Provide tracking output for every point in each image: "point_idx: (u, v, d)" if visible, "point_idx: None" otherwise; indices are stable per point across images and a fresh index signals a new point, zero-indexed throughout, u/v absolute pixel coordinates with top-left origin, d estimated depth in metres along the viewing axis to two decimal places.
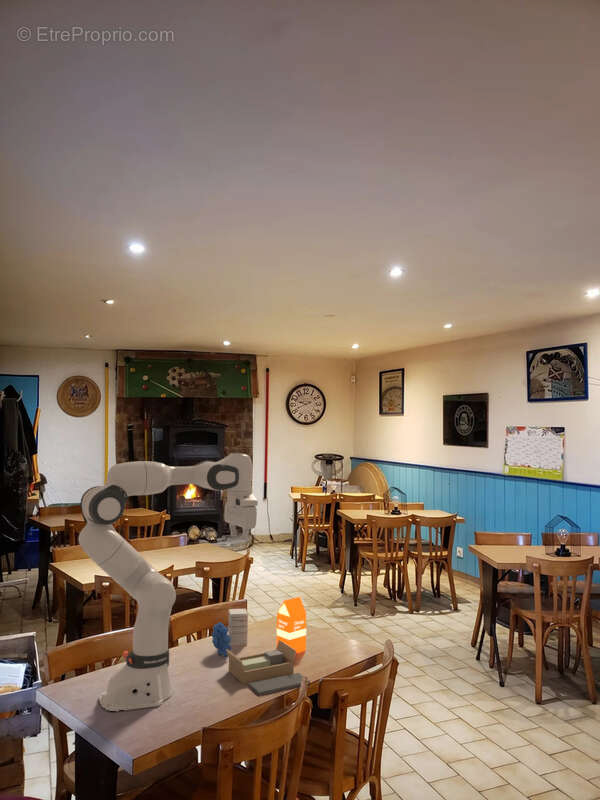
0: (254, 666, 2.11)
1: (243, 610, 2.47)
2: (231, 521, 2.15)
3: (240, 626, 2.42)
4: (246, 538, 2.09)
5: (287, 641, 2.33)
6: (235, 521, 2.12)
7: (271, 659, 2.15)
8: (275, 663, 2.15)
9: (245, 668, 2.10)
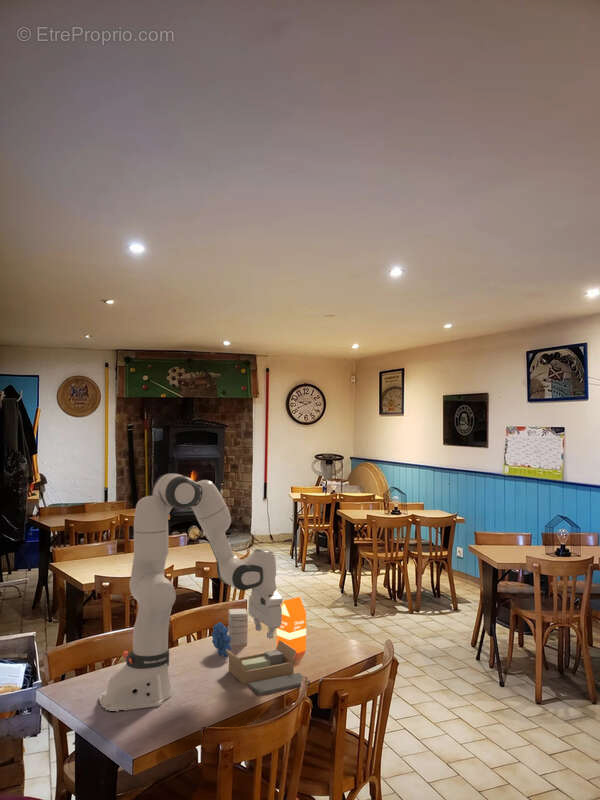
0: (254, 666, 2.11)
1: (243, 610, 2.47)
2: (256, 616, 2.18)
3: (240, 626, 2.42)
4: (272, 636, 2.12)
5: (287, 641, 2.33)
6: (260, 617, 2.15)
7: (271, 659, 2.15)
8: (275, 663, 2.15)
9: (245, 668, 2.10)
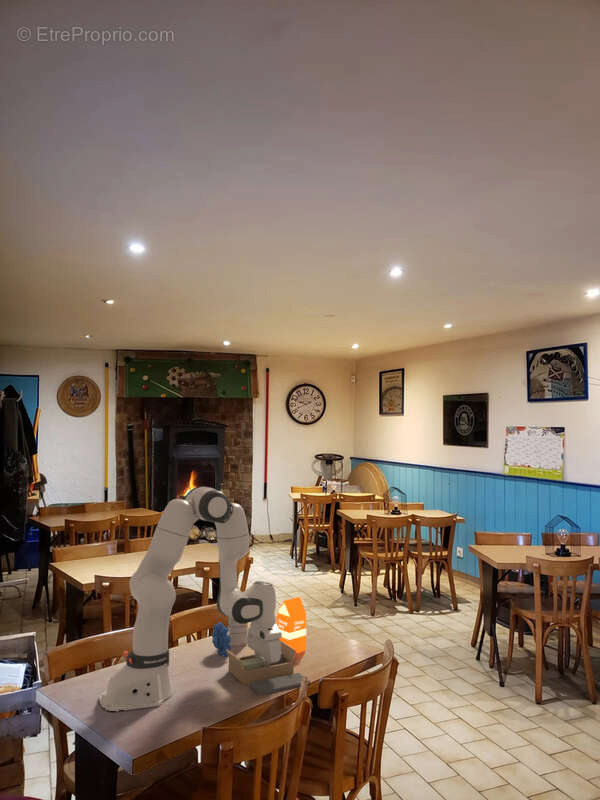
0: (254, 666, 2.11)
1: None
2: (255, 649, 2.17)
3: (240, 626, 2.42)
4: None
5: (287, 641, 2.33)
6: (259, 650, 2.14)
7: None
8: (275, 663, 2.16)
9: (245, 668, 2.10)
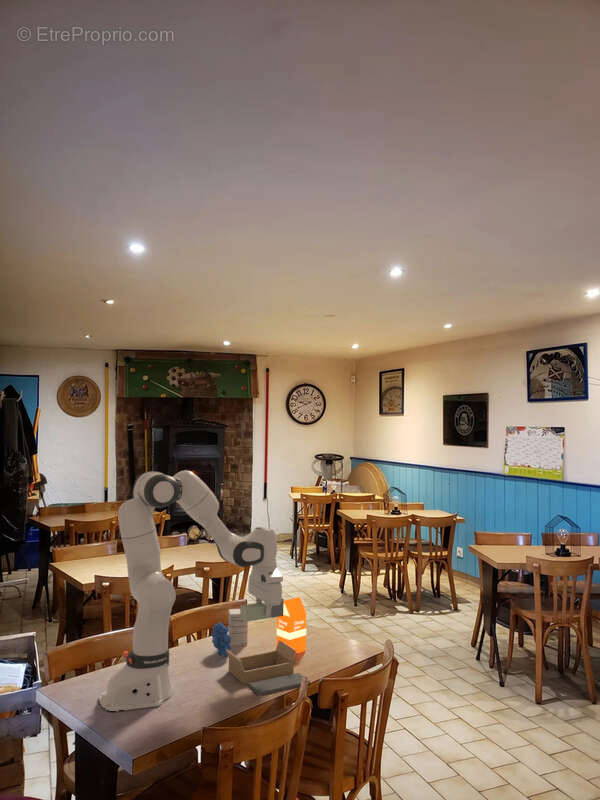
0: (255, 610, 2.12)
1: None
2: (256, 595, 2.18)
3: (240, 626, 2.42)
4: (269, 612, 2.13)
5: (287, 641, 2.33)
6: (260, 595, 2.15)
7: None
8: (276, 608, 2.16)
9: (246, 611, 2.11)
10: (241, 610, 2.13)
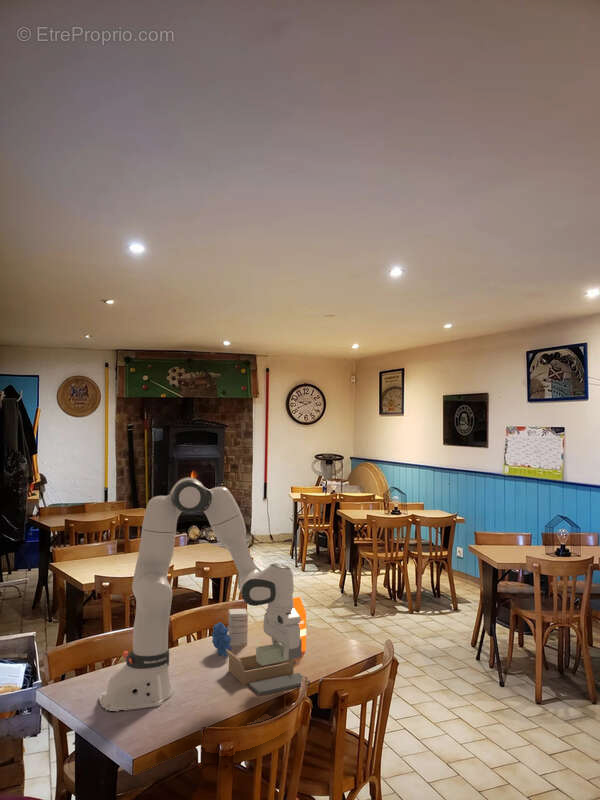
0: (272, 652, 2.01)
1: (243, 610, 2.47)
2: (272, 635, 2.07)
3: (240, 626, 2.42)
4: (286, 655, 2.02)
5: None
6: (276, 636, 2.04)
7: None
8: (294, 649, 2.05)
9: (263, 654, 1.99)
10: (257, 653, 2.02)
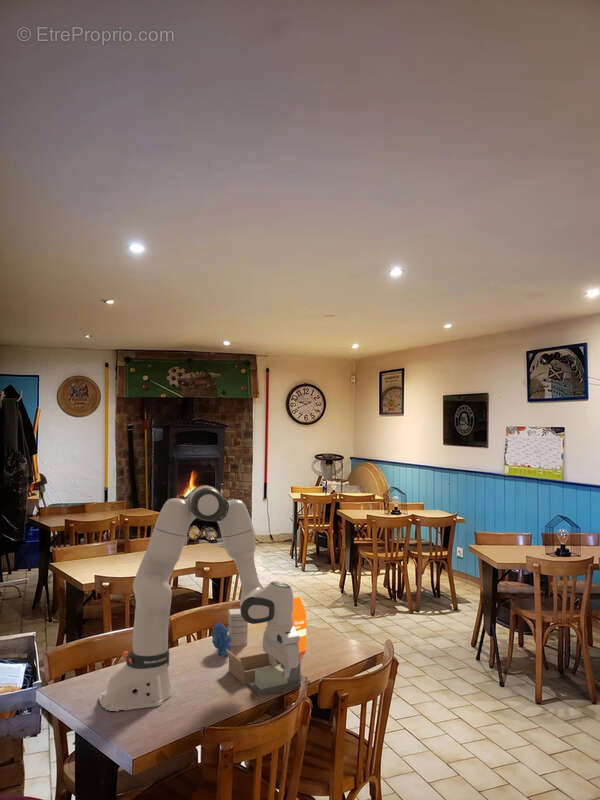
0: (271, 676, 2.00)
1: None
2: (271, 654, 2.06)
3: (240, 626, 2.42)
4: (288, 676, 2.00)
5: None
6: (276, 655, 2.03)
7: None
8: (293, 673, 2.04)
9: (261, 678, 1.99)
10: (256, 676, 2.01)
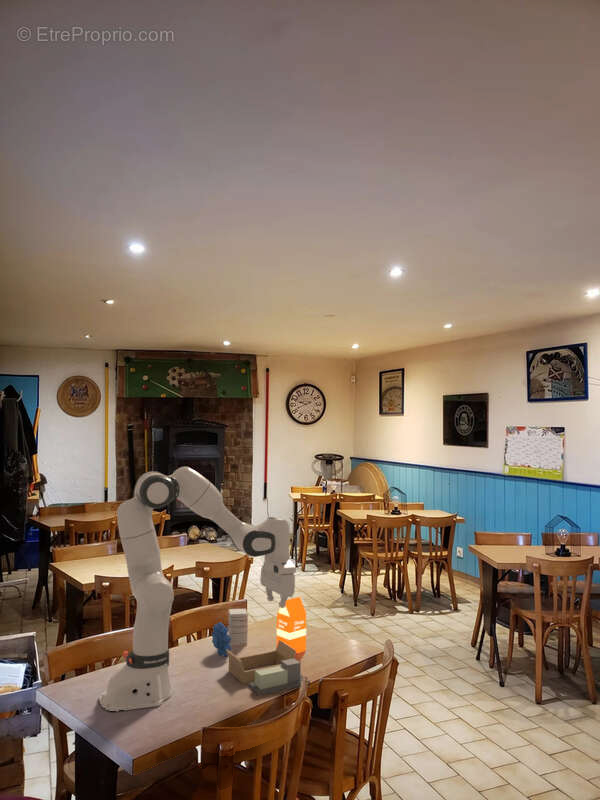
0: (271, 676, 2.00)
1: (243, 610, 2.47)
2: (268, 586, 2.14)
3: (240, 626, 2.42)
4: (284, 605, 2.07)
5: (287, 641, 2.33)
6: (272, 586, 2.11)
7: (288, 668, 2.04)
8: (293, 673, 2.04)
9: (261, 678, 1.99)
10: (256, 676, 2.01)
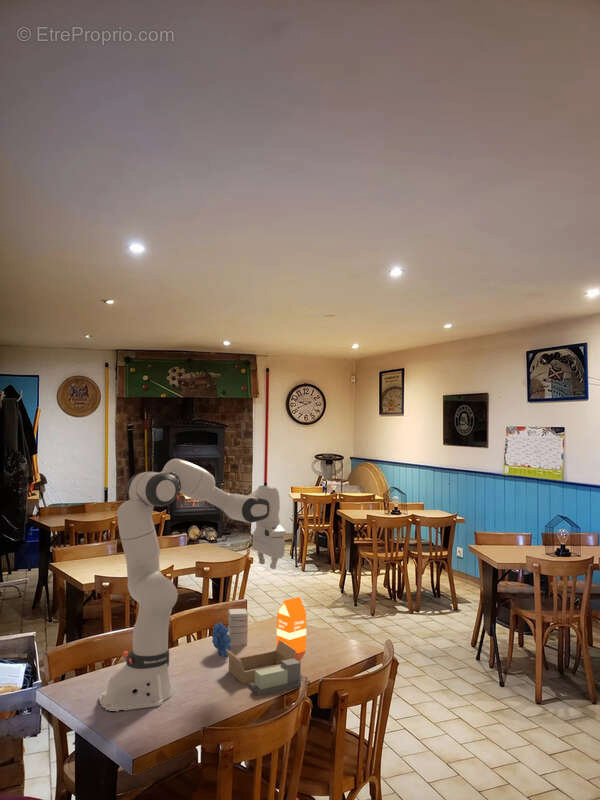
0: (271, 676, 2.00)
1: (243, 610, 2.47)
2: (259, 550, 2.29)
3: (240, 626, 2.42)
4: (274, 566, 2.22)
5: (287, 641, 2.33)
6: (264, 550, 2.26)
7: (288, 668, 2.04)
8: (293, 673, 2.04)
9: (261, 678, 1.99)
10: (256, 676, 2.01)
